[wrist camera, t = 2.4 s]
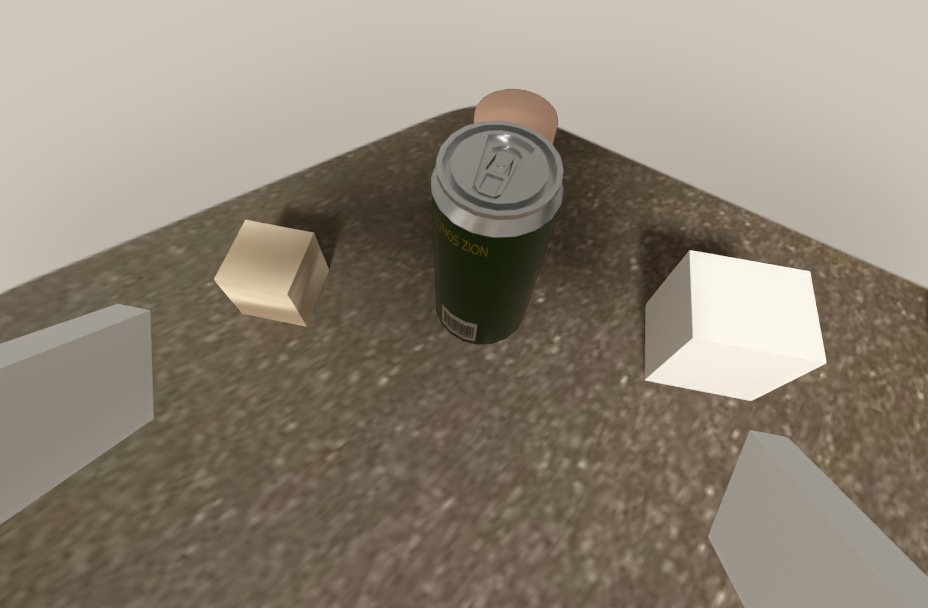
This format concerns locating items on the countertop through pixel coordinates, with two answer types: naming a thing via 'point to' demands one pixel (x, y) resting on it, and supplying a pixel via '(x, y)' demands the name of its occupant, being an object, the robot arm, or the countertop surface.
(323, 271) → the birch block
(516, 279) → the green soda can
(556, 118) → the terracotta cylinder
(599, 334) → the countertop surface
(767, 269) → the off-white plastic box
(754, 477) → the robot arm
